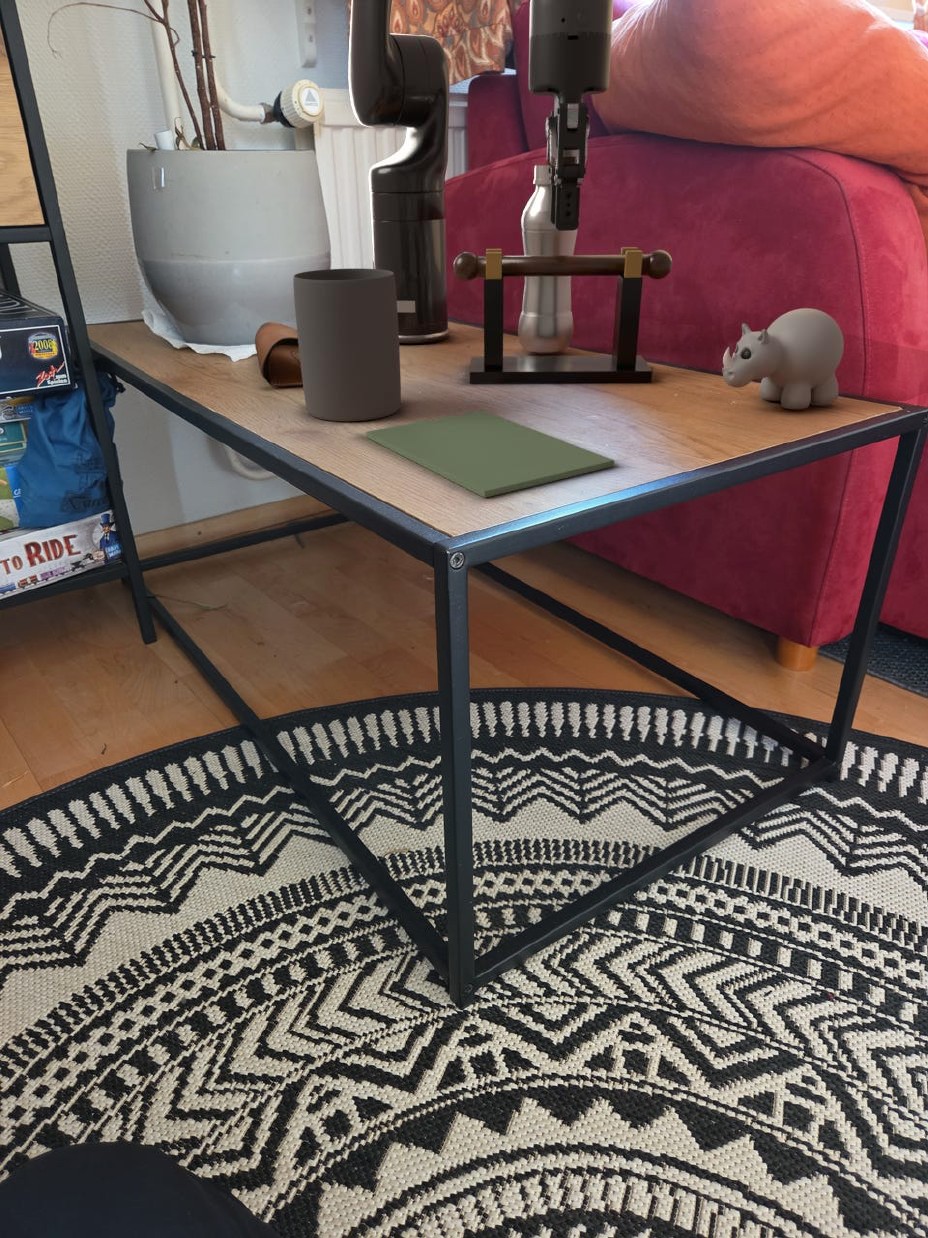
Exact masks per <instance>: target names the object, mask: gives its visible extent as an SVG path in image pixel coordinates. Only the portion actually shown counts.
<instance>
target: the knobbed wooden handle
mask: <svg viewBox="0 0 928 1238" xmlns="http://www.w3.org/2000/svg"><path fill="white" fill-rule="evenodd" d="M452 268H453V274H454V275H455V277H456V278H457V279H458V280H461V281H462V282H472V281H474V280H475V279H476V278H484V277H486V255H475V254H474V253H472V252H469V251H464V252H460V253H459V254H458V255H457V256H456V257H455V258H454V261H453V265H452ZM672 268H673V259H672V256H671V255H670V253H669V252H667V251H666V250H664V249H655V250H653V251H651V252H650V253H645V254H644V253H643V255H642V268H641V277H642V276H648V277H649V278H650V279H652V280H662V279H665V278H666V277H667V276H668V275H669V274H670V273H671V271H672ZM624 269H625V255H621V254H573V255H538V256H524V255H502V277H504V278H522V277H523V278H525V277H543V276H571V277H615V276H616V277H617V276H624Z"/></svg>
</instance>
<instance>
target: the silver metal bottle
mask: <svg viewBox="0 0 928 1238" xmlns="http://www.w3.org/2000/svg"><path fill="white" fill-rule="evenodd" d="M548 168H550V166H549V165H548V164H543V165H541V164H540V165H534V175H533V176H534V179H533V185H535V191H534V192H533V194H532V195H531V196H530V198H529V200H528V201H527V203H526V205H525V207H524V209H523V211H522V215H521V218H520V222H521V224H520V225H521V235H522V245H523V253H524V254H523V256H538V255H574V252H575V247H576V243H577V237H578V231H579V230H578V228H577V229H576V230H574V231H559V230H557V229H556V227H555V225H554V224H552V222H551V185H555V184H550V180H549V175H550V173H548ZM522 295H523V296H522V305H521V307H522V308H521V310H522V311H521V312H520V316H519V319H518V327H517V337H518V342H519V344H520V346H521V348H522V349H523V350H524V351H527V352H532V353H536V354H540V355H550V354H553V353H559V352H562V351H563V352H564V351H566V350H567V349H568V348H569V347H570V345H571V344H572V341H573V337H574V336H573V335H574V332H575V331H574V330H575V329H574V328H575V327H574V317H573V312H572V276H543V277H524V287H523V294H522Z"/></svg>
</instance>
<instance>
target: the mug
mask: <svg viewBox="0 0 928 1238" xmlns="http://www.w3.org/2000/svg"><path fill="white" fill-rule="evenodd" d="M292 279H293V280H292V283H293V300H294V310H295V322H296V330H297V334H298V344H299V353H300V363H301V372H302V380H303V386H302V387H303V395H304V402H305V406H306V411H307V413H308V415H310V416H311V417H314V418H317V419H319V420H325V421H331V422H332V421H334V422H361V421H370V420H377V419H381V418H386V417H388V416H390V415H393V414H396V413H397V412H398V411H399V410H400V407H401V402H402V381H401V380H402V379H401V377H402V376H401V354H400V353H401V352H400V343H399V331H398V312H397V297H396V285H395V277H394V273H393V272H391V271H387V270H380V269H373V268H330V269H317V270H309V271H303V272H299V273H296V274H294V275H293V278H292Z"/></svg>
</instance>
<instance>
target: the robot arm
mask: <svg viewBox="0 0 928 1238" xmlns="http://www.w3.org/2000/svg"><path fill="white" fill-rule="evenodd" d="M393 1H394V0H351V9H350V11H351V12H350V27H349V28H350V29H349V44H348V45H349V46H348V47H349V48H348V90H349V97H350V98H349V99H350V104H351V108H352V111H353V114H354V117H355V118H356V120H357V121H358V122H359V123H360V125H362V126H363V127H367V128H376V129H379V128H380V129H382V128H383V129H406V137H405V141H404V143H403V146H402V147H401V148H400V149H399V150H398V151H397V152H396V153H394V154H393V155H391V156H390V157H388V158H386V159H384V160H381V161H380V162H377V163H375V164H374V165H372V166H371V167H370V168H369V172H368V187H369V203H370V217H371V218H370V220H371V234H372V235H371V236H372V248H373V249H372V251H373V253H372V254H373V259H372V269H380V270H387V271H391V272H393V273H394V277H395V285H396V297H397V312H398V331H399V344H425V343H434V342H439V341H443V340H445V339H448V338H449V337H450V329H449V328H450V327H449V316H448V315H449V314H448V308H449V307H448V302H449V301H448V262H447V261H448V260H447V221H446V220H447V219H446V191H445V190H446V174H447V170H448V169H447V168H448V161H449V124H450V123H449V122H450V87H451V86H450V85H451V84H450V71H449V70H450V69H449V63H448V58H447V55H446V52H445V49H444V47H443V46H442V44H441V42H440V41H439V40H438V39H437V38H435V37H434V36H430V35H423V34H406V33H391V19H392V11H393ZM613 15H614V0H530V1H529V29H528V32H529V39H528V40H529V41H528V43H529V44H528V91H529V93H531V94H532V95H534V96H539V97H540V96H543V97H547V96H548V97H551V98H553V100H554V107H553V108H554V109H553V110H551V113H550V114H549V116H547V117H546V118H545V139H546V141H547V143H546V163H547V164H546V165H549V166H550V168H548V173H550V175H549V180H550V184H555V185H551V222H552V224H554V225H555V227H556V229H557V230H559V231H574V230H576V229H577V230H578V228H579V226H580V225H579V223H580V205H581V204H580V203H581V201H580V200H581V187H582V185H583V182H584V180H585V175H586V174H587V172H586V171H587V168H586V166H585V165H586V163H587V158H588V137H589V135H590V127H591V117H590V115H588V114H589V107H588V102H583V101H584V100H583V97H584V96H591V95H592V96H593V95H600V94H603V93H606V92H607V90H608V89H609V87H610V75H611V54H612V39H613V38H612V37H613V36H612V34H613V18H614V16H613Z"/></svg>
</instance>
